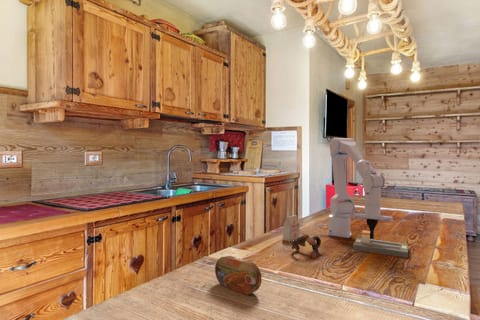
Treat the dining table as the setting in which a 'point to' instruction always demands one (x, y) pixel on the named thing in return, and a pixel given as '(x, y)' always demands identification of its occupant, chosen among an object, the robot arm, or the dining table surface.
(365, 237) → the block
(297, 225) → the grey upright block
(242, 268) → the tin
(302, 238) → the brown animal figurine
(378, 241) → the panel
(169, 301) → the dining table surface
